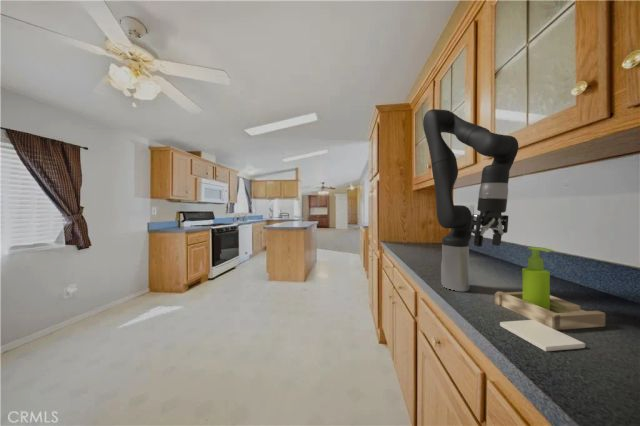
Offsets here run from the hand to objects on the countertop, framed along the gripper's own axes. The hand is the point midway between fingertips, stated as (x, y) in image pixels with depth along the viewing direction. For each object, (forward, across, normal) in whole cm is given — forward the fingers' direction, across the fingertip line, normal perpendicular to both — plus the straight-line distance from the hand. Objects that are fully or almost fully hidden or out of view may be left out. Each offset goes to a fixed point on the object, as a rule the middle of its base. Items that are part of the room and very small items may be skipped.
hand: (487, 245), depth 74 cm
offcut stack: (+18, -13, +14) cm, 26 cm away
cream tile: (+18, +7, +19) cm, 27 cm away
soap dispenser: (+18, -7, +12) cm, 23 cm away
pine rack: (+18, -8, +13) cm, 24 cm away
